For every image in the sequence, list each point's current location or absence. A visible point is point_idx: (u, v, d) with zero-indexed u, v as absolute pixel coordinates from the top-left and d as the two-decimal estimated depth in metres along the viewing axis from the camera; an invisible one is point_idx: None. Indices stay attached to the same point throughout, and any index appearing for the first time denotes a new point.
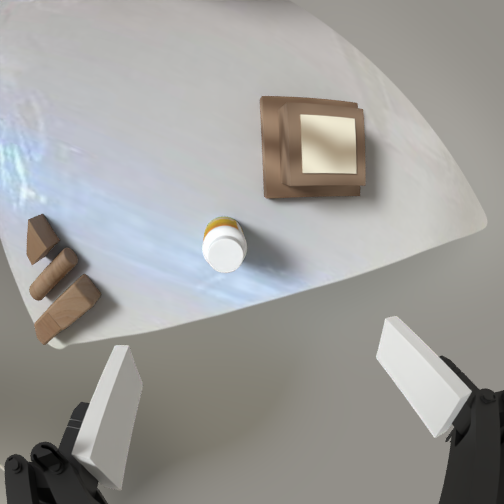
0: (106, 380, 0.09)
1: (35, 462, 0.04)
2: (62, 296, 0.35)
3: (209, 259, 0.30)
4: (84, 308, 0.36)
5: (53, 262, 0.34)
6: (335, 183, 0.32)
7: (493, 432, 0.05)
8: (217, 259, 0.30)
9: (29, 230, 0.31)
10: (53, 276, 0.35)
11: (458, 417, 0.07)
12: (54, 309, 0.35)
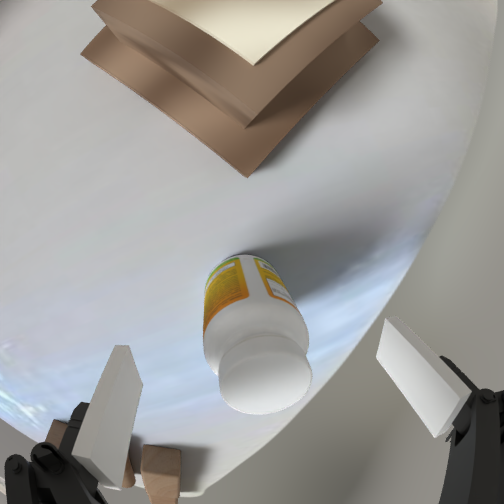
0: (106, 380, 0.09)
1: (35, 462, 0.04)
2: (144, 482, 0.22)
3: (244, 411, 0.11)
4: (175, 481, 0.22)
5: None
6: (337, 32, 0.09)
7: (493, 432, 0.05)
8: (259, 401, 0.11)
9: None
10: None
11: (458, 417, 0.07)
12: (151, 491, 0.23)
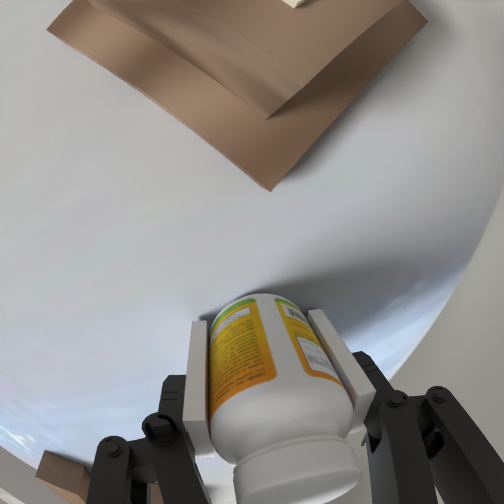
0: (196, 350, 0.11)
1: (145, 431, 0.07)
2: None
3: None
4: None
5: None
6: None
7: (412, 438, 0.06)
8: None
9: (47, 485, 0.14)
10: None
11: (367, 417, 0.09)
12: None
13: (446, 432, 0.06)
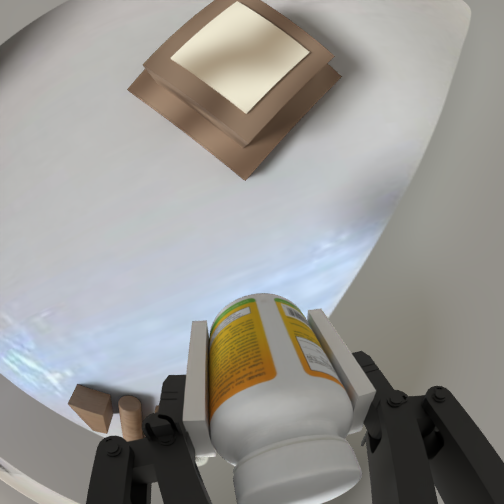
0: (196, 350, 0.11)
1: (145, 431, 0.07)
2: None
3: None
4: None
5: (121, 418, 0.30)
6: (298, 86, 0.17)
7: (412, 437, 0.06)
8: None
9: (77, 411, 0.27)
10: (132, 429, 0.30)
11: (367, 417, 0.09)
12: None
13: (446, 432, 0.06)
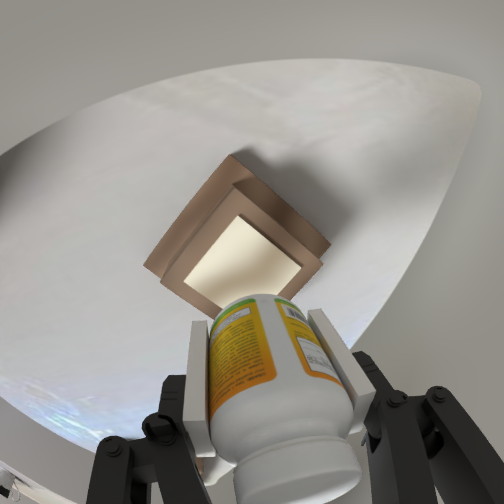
0: (196, 350, 0.11)
1: (145, 431, 0.07)
2: None
3: None
4: None
5: None
6: (289, 298, 0.24)
7: (412, 438, 0.06)
8: None
9: None
10: None
11: (367, 417, 0.09)
12: None
13: (446, 432, 0.06)
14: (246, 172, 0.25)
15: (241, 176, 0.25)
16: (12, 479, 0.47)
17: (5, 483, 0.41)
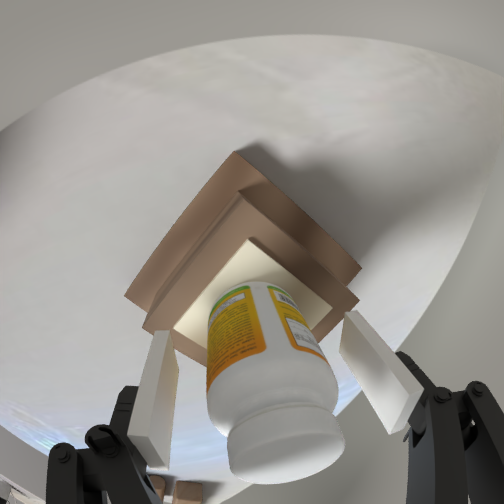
0: (152, 362, 0.11)
1: (89, 444, 0.06)
2: None
3: (259, 482, 0.07)
4: None
5: None
6: None
7: (453, 433, 0.06)
8: (277, 475, 0.07)
9: None
10: None
11: (412, 415, 0.08)
12: None
13: (481, 424, 0.05)
14: (257, 175, 0.19)
15: (250, 180, 0.19)
16: (9, 489, 0.40)
17: (2, 493, 0.34)
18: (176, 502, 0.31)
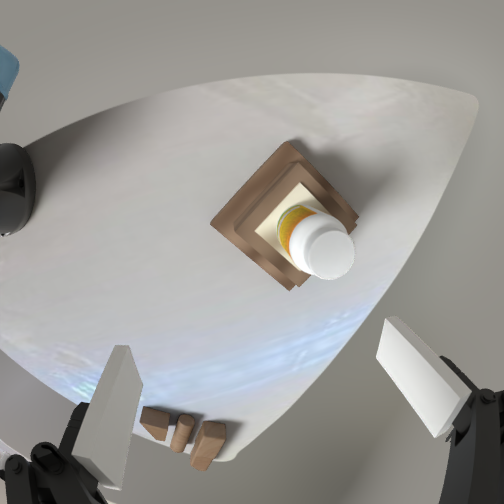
0: (106, 380, 0.09)
1: (35, 462, 0.04)
2: (200, 445, 0.44)
3: (318, 274, 0.21)
4: (221, 443, 0.44)
5: (177, 430, 0.44)
6: None
7: (493, 432, 0.05)
8: (327, 267, 0.21)
9: (146, 427, 0.41)
10: (184, 437, 0.44)
11: (458, 417, 0.07)
12: (200, 452, 0.45)
13: None
14: (299, 155, 0.32)
15: (295, 158, 0.32)
16: None
17: None
18: (202, 442, 0.44)
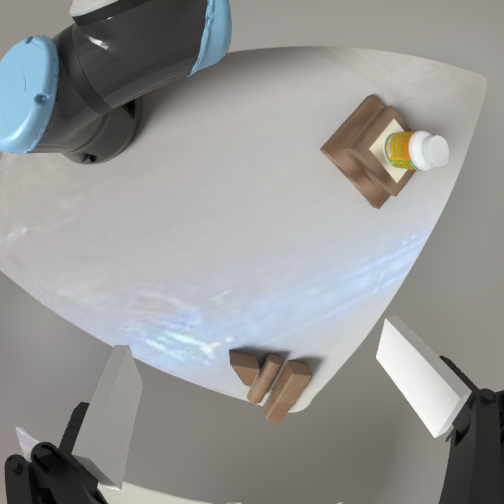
0: (106, 380, 0.09)
1: (35, 462, 0.04)
2: (286, 386, 0.50)
3: (434, 162, 0.26)
4: (307, 380, 0.50)
5: (264, 372, 0.50)
6: (414, 170, 0.36)
7: (493, 432, 0.05)
8: (437, 158, 0.26)
9: (236, 369, 0.46)
10: (270, 380, 0.50)
11: (458, 417, 0.07)
12: (282, 397, 0.51)
13: None
14: (381, 105, 0.37)
15: (379, 107, 0.37)
16: None
17: None
18: (289, 382, 0.49)
